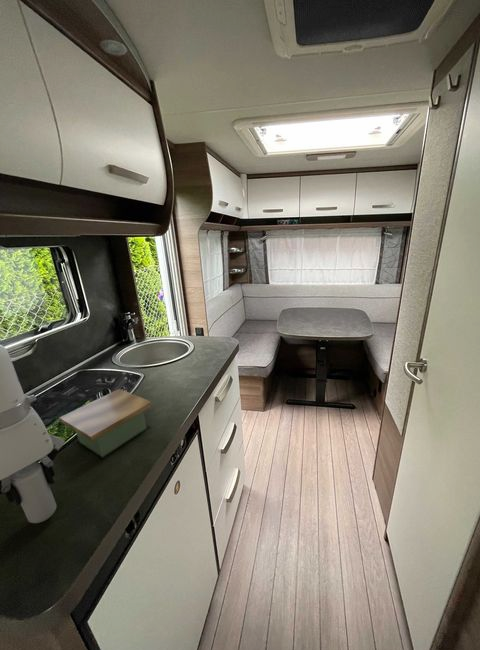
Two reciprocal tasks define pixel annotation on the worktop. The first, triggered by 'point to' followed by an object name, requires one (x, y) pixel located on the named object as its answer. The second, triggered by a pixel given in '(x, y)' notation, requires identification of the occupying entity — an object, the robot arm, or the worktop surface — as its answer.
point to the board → (105, 414)
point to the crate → (115, 436)
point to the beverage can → (34, 493)
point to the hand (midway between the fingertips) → (33, 489)
